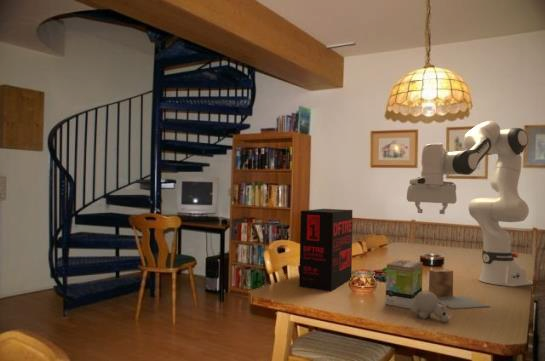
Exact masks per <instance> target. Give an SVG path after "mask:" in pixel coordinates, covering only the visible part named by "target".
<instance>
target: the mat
mask: <svg viewBox="0 0 545 361" xmlns="http://www.w3.org/2000/svg"><path fill="white" fill-rule="evenodd" d="M437 298H438V302H439V304H442V305H446V304H448V306H447V308H448V309H450V310H461V309H463V310H464V309H478V308H491V305H489V304H486V303H484V302H481V301H479V300H476V299H473V298H471V297H468V296H466V295H453V296H447V297H437Z"/></svg>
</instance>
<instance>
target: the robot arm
mask: <svg viewBox="0 0 545 361" xmlns="http://www.w3.org/2000/svg"><path fill="white" fill-rule="evenodd" d="M528 142H529V137H528V134H527V132H526V131H525V130H524V129H523V128H521V127H512V128H506V129H505V128H504V129H501V127H500V125H499V123H497V122H495V121H492V120H486V121H483V122H481V123H480V124H477V125H476V126H474V127H473V128H471V129H470V130H468V132H466V134H465V135H464V138H463V144H464V146H465V148H466V149H465V150H460V151H448V150H447V149H445V147H444V144H443V143H441V142H434V143H427V144H425V145H424V146H423V148H422V153H421V166H422V170H421V175H420V176H418V177H415V178H411V179H409V185H408V187H407V190H406V191H407V192H406V200H407V201H408V203H410V202H411V203H412V202H413V203H414V204H415V207H416V209H417V213H418V214H423V212H424V210H423V208H421V206H420V205H421V203H433V204H441V206H442V208H441V209H439V212H438V213H439V214H440V215H445V213H446V212H445V211H446V209H447V208H448V206H449V205H448V204H450V205H451V204H452V205H453V204H456V202H457V185H456V184H455V183H454V182H453V181H444V175H451V176H452V175H463V176H468V175H472V174H473V173H474V172H475V171H476V169H477V167H478V165H479V163H480V162H481V161H482V160H483V159H484V157H485V156H487V155H488V156H492V155H497V160H496V162H495V166H494V168H493V172H492V176H491V179H490V187H491V188H492V189H493V191H495V192H497V193H498V197H491V196H490V197H489V196H488V197H486V196H485V197H484V196H483V197H478V198H473V199H471V200H470V202H469V204H468V213H469V215H470V216H471V217H472V218H473V219H474V220H475V221H476V222H477V224H478V225H479V227H480V229H481V232H482V239H483V240H482V241H483V242H482V243H483V244H482V245H483V249H482V252H481V253H482V256H481V258H482V264H481V266H482V267H481V272H480V276H479V279H478V280H479V281H480V282H483V283H485V284H486V283H487V284H491V285H498V286H505V287H522V286H529V285H533V284H534V282H533V281H532V280H530V279H528V277H527V272H526V270H525V268H524V267H522V266H521V265H520V264H519V263H517V262H516V261H515V258H516V259H517V258H519V257H520V255H519V254H518V253H517V252H516V253H515V252H511V251H512V250H511V248H512V245H511V242H512V241H511V240H512V239H511V235H510V234H509V232H508V231H506V230H505V229H503V228H502V227H501V225H500V224H499V223H500V222H502V223H504V222H505V223H518V222H523V221H525V220H526V219H527V217H528V216H529V212H530V211H529V210H530V209H529V206H528V204H527V203H526V201H525V200H523V199H522V198H521V196H520V194H519V192H518V188H519V187H518V186H519V185H518V184H519V180H520V176H521V171H522V170H521V169H522V155H521V154H522V153H523V152H524V151H525V149H526V147H527V146H528Z"/></svg>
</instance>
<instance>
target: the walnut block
mask: <svg viewBox="0 0 545 361" xmlns="http://www.w3.org/2000/svg"><path fill="white" fill-rule="evenodd" d="M428 276H429V277H428V291H430V292H432V293H434V294H435V295H436V297H447V296H454V270H450V269H447V268H446V269H440V268H439V269H429V270H428Z"/></svg>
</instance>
